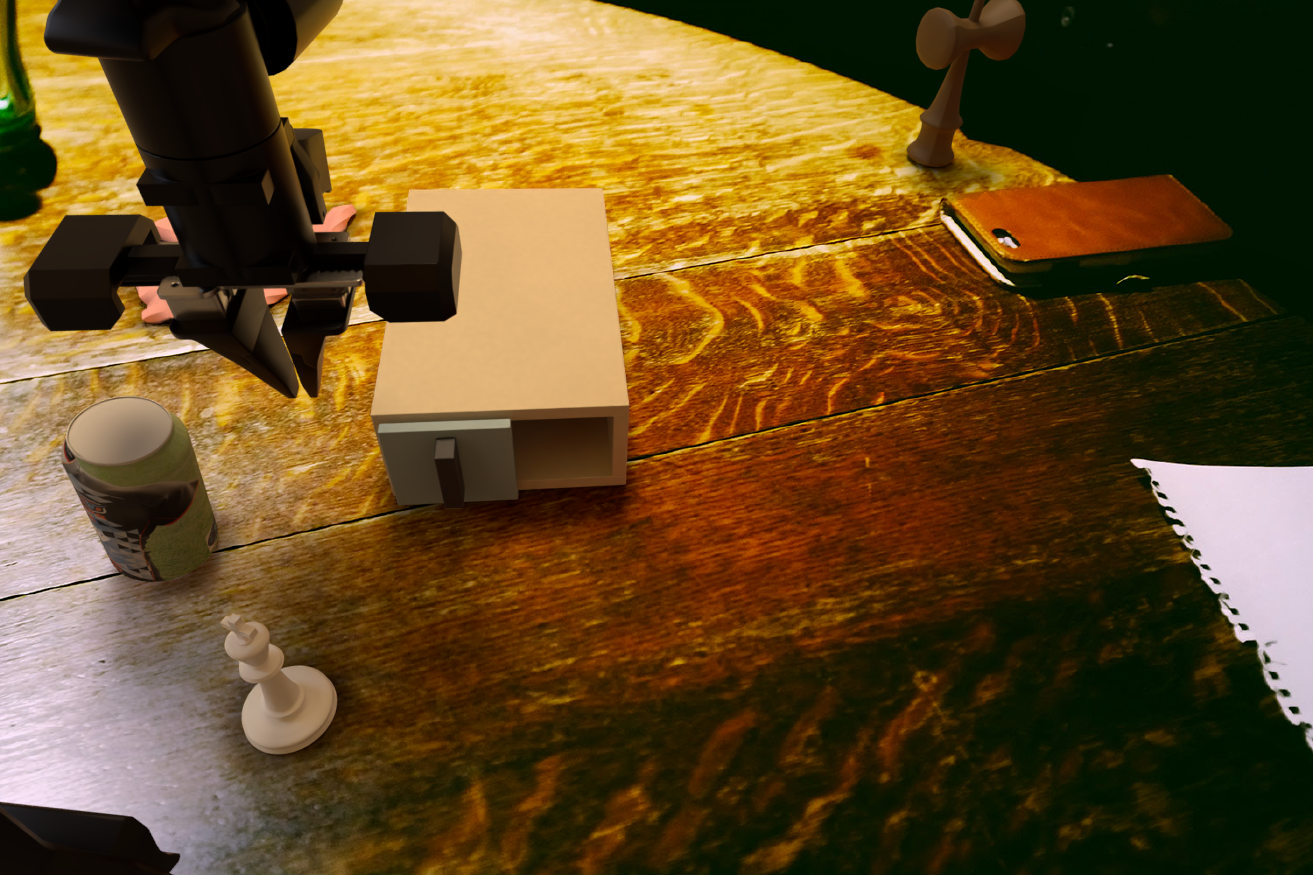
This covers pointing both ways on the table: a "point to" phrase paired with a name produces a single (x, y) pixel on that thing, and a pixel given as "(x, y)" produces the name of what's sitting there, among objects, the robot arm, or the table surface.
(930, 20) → the kendama
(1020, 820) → the table surface
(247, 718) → the chess piece
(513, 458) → the closet door
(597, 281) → the box
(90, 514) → the beverage can
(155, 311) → the cloth
